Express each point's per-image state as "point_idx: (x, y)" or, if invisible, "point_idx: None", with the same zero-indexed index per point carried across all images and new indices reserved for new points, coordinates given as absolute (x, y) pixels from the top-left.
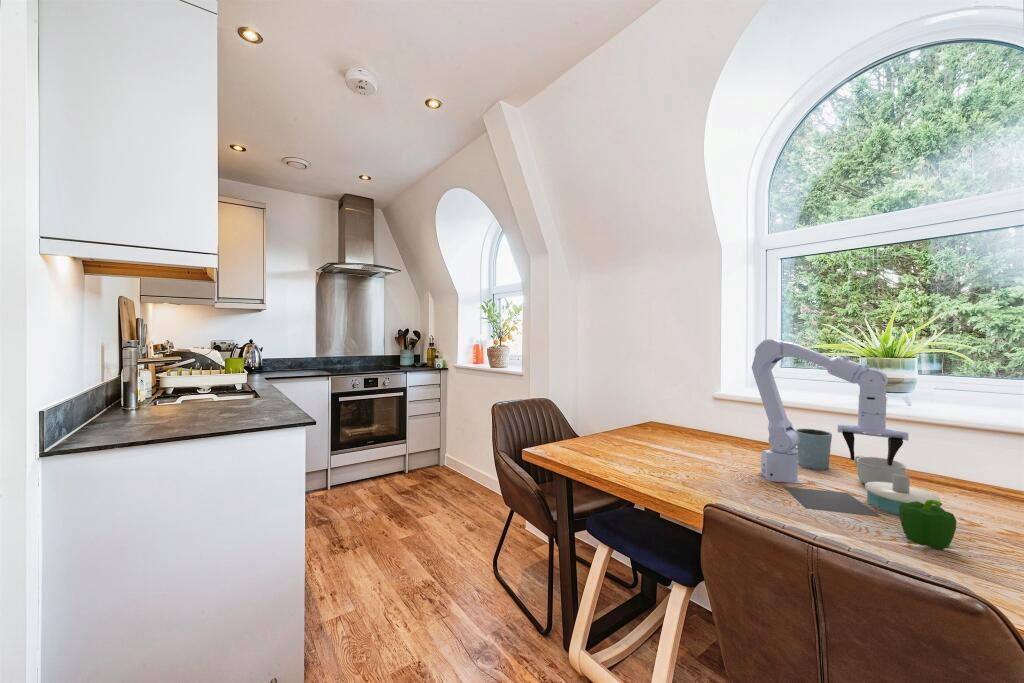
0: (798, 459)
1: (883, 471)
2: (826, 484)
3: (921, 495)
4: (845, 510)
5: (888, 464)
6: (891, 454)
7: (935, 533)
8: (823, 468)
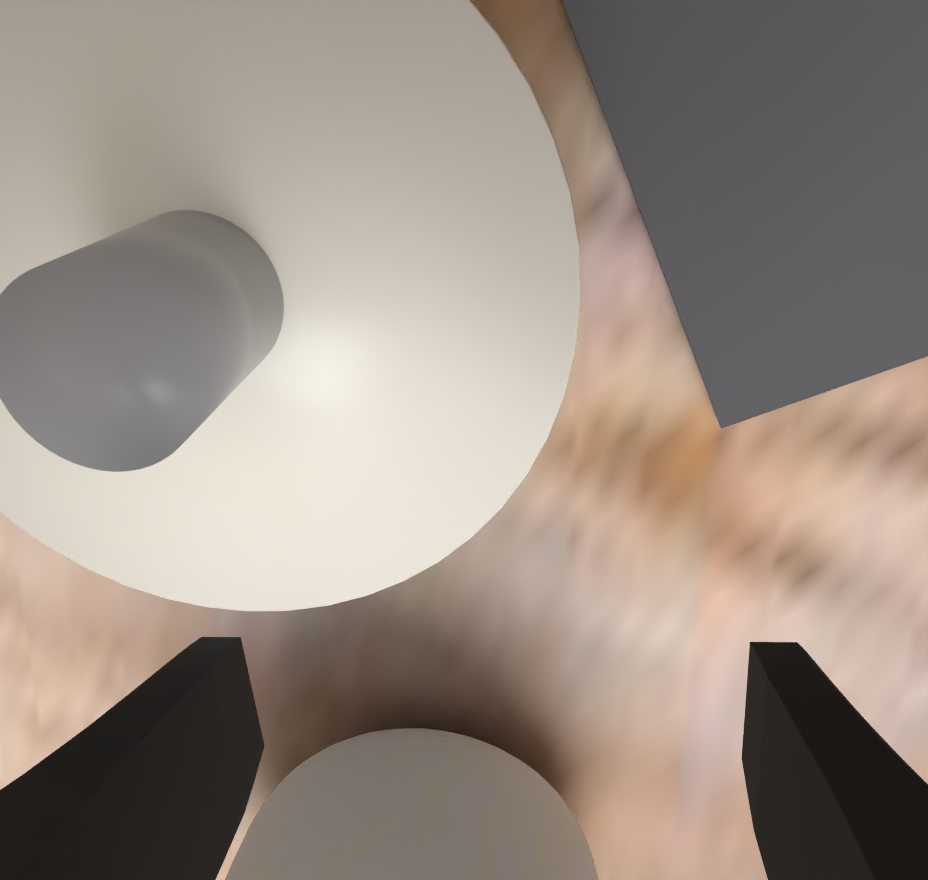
0: None
1: (371, 857)
2: (884, 646)
3: (4, 273)
4: None
5: (232, 643)
6: (85, 775)
7: None
8: None
